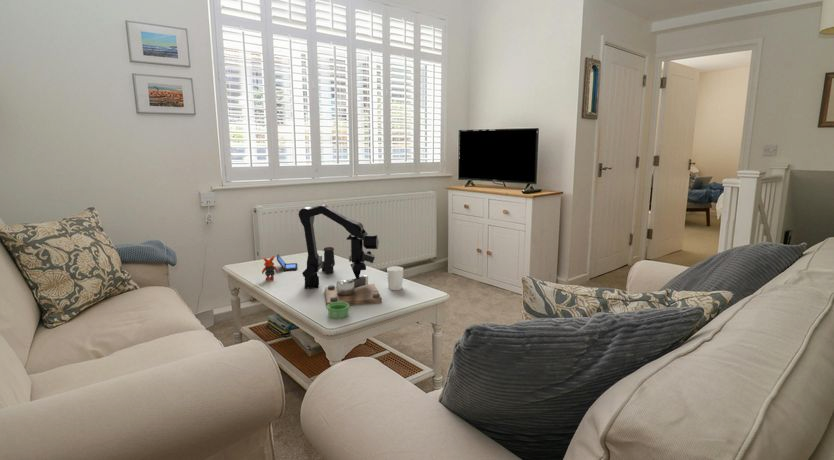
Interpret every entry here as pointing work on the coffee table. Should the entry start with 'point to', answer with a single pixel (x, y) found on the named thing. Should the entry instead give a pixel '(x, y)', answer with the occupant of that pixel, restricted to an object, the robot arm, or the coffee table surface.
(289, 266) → the handheld game console
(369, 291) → the base plate
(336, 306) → the ramekin
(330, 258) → the scope
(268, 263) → the toy animal
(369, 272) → the coffee table surface
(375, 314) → the coffee table surface
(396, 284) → the white cup
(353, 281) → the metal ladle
